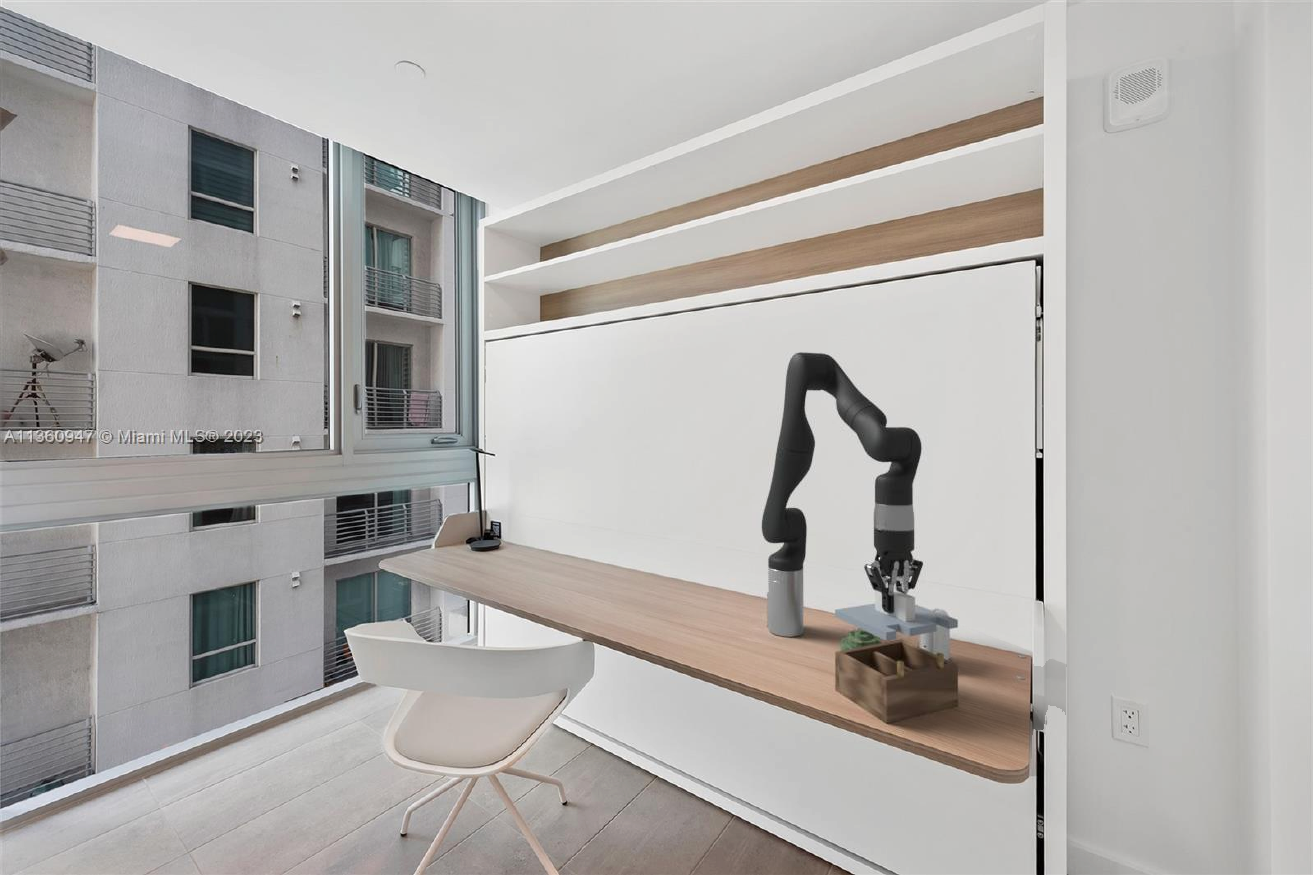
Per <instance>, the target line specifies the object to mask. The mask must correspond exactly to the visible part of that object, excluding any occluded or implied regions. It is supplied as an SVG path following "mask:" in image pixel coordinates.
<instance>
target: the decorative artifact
mask: <svg viewBox="0 0 1313 875" xmlns="http://www.w3.org/2000/svg"><path fill="white" fill-rule="evenodd" d="M879 643H883V642H882V638H879V637H877V636H875V635H873V634H871V633H869V632H867V631H864V630H862V629H860V628H858V627H857V630H856V629H852V630H850V631H849V634H848V636H845V637H843V638H842V639H840V651H842V650H847V649H852V648H858V647H863V646H868V645H874V644H879Z"/></svg>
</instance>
